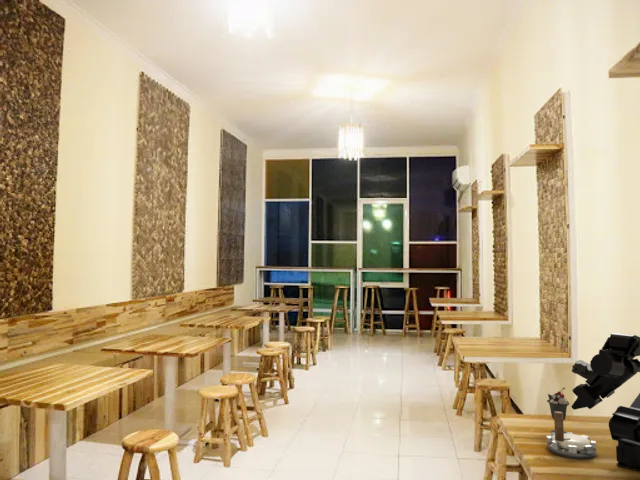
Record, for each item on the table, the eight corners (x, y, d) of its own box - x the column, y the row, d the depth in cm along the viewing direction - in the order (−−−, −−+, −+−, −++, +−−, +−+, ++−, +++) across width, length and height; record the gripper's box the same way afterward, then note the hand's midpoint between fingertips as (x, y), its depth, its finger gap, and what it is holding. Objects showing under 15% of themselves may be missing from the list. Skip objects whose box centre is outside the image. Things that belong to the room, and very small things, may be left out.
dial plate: (602, 450, 144) (601, 438, 144) (587, 463, 135) (587, 451, 135) (556, 439, 153) (556, 428, 153) (540, 450, 144) (539, 439, 144)
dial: (598, 449, 140) (596, 416, 140) (565, 451, 138) (564, 418, 139) (575, 437, 150) (574, 406, 150) (545, 439, 148) (544, 407, 149)
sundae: (574, 436, 155) (572, 389, 156) (553, 436, 156) (551, 389, 156) (564, 429, 162) (562, 384, 163) (544, 429, 162) (542, 384, 163)
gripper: (600, 348, 144) (563, 379, 152) (579, 356, 131) (539, 390, 139) (632, 379, 138) (591, 410, 146) (613, 391, 125) (569, 425, 133)
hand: (572, 408), depth 141 cm, fingers closed
